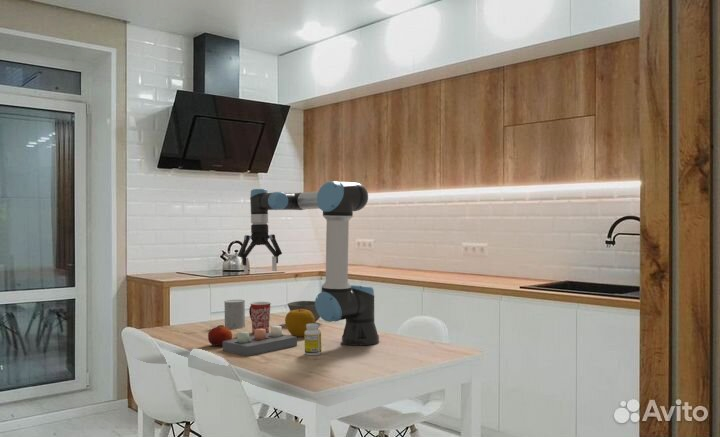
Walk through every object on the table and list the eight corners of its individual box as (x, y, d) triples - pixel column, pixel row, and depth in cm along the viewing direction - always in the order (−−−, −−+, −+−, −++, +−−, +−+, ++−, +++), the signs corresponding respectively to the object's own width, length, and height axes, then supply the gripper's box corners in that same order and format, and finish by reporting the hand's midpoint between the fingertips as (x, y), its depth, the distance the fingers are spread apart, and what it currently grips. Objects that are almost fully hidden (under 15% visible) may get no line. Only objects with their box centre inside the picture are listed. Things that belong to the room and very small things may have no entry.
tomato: (236, 343, 247) (235, 323, 247) (225, 348, 238) (224, 327, 238) (215, 342, 249) (215, 323, 249) (204, 347, 241) (203, 327, 241)
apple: (280, 338, 257) (280, 311, 257) (291, 332, 270) (291, 306, 270) (309, 339, 254) (309, 311, 254) (319, 333, 267) (318, 307, 267)
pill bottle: (312, 351, 230) (312, 322, 230) (324, 353, 226) (324, 323, 226) (301, 354, 225) (300, 324, 225) (313, 356, 221) (312, 326, 221)
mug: (275, 333, 268) (274, 302, 269) (257, 335, 263) (257, 304, 263) (260, 329, 278) (259, 300, 278) (242, 332, 272) (242, 302, 272)
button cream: (283, 336, 243) (283, 326, 243) (275, 338, 240) (275, 328, 240) (276, 335, 246) (276, 325, 246) (268, 336, 243) (268, 326, 243)
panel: (296, 345, 241) (296, 336, 241) (247, 356, 223) (247, 346, 223) (271, 340, 252) (271, 332, 252) (222, 350, 234) (222, 341, 234)
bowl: (334, 322, 296) (334, 301, 296) (311, 328, 280) (311, 306, 280) (303, 319, 306) (303, 299, 306) (279, 324, 290) (279, 304, 290)
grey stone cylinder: (220, 328, 283) (220, 302, 283) (230, 324, 292) (230, 299, 292) (239, 329, 280) (238, 302, 280) (248, 325, 289) (248, 299, 289)
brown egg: (268, 339, 237) (268, 329, 237) (259, 341, 234) (258, 331, 234) (261, 338, 240) (261, 328, 240) (252, 339, 237) (252, 329, 237)
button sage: (251, 342, 232) (251, 332, 232) (242, 344, 228) (241, 334, 228) (244, 341, 235) (244, 331, 235) (235, 343, 231) (235, 332, 231)
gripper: (280, 223, 278) (281, 269, 278) (229, 224, 263) (230, 273, 263) (288, 223, 272) (289, 270, 271) (236, 224, 257) (237, 274, 257)
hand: (260, 272), depth 267 cm, fingers open, 13 cm apart
